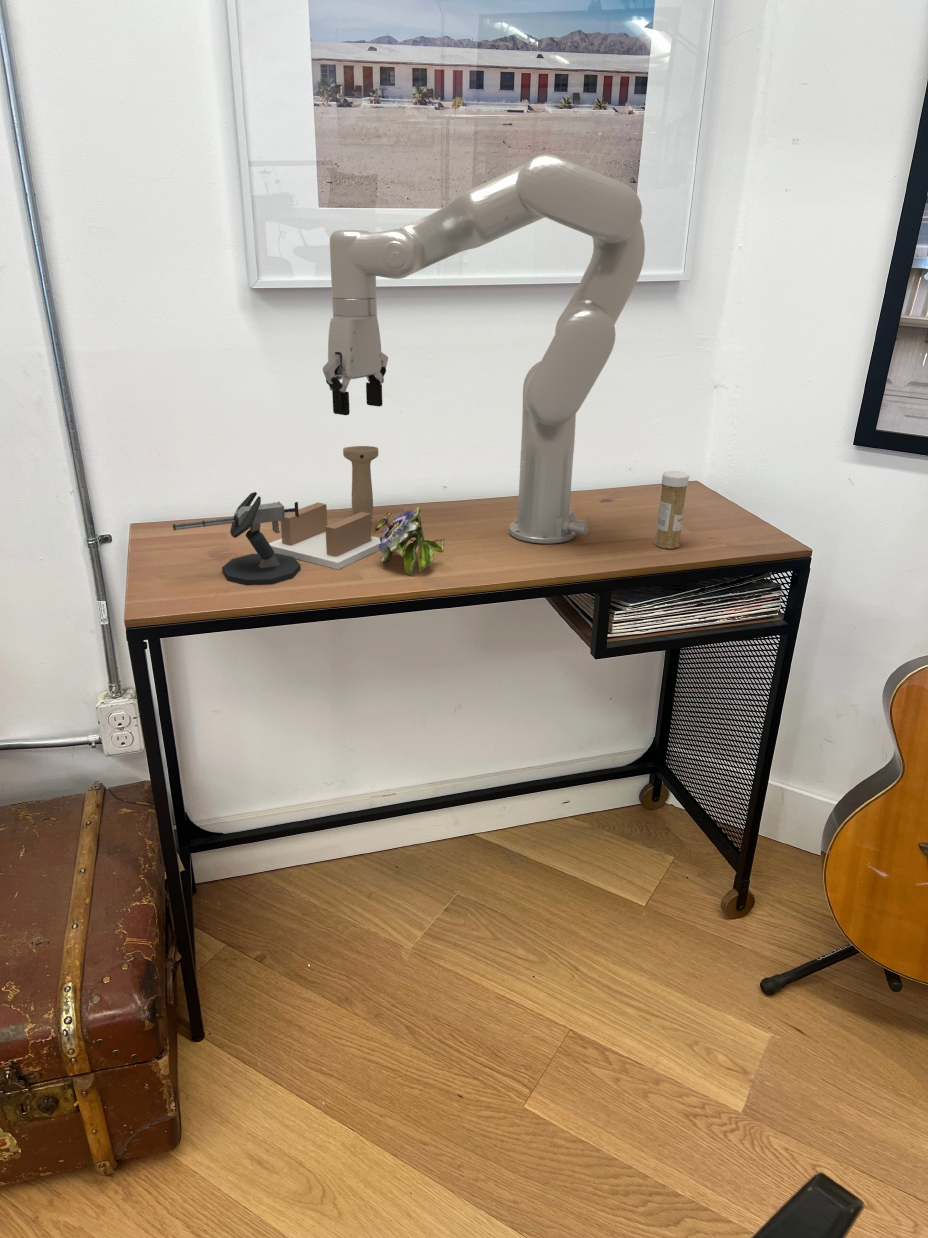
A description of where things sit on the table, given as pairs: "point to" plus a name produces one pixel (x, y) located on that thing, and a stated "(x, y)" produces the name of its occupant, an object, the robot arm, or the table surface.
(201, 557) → the table surface
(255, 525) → the gun turret
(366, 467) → the handle
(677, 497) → the sprinkles bottle
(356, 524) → the white base with blocks
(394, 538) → the passion flower
